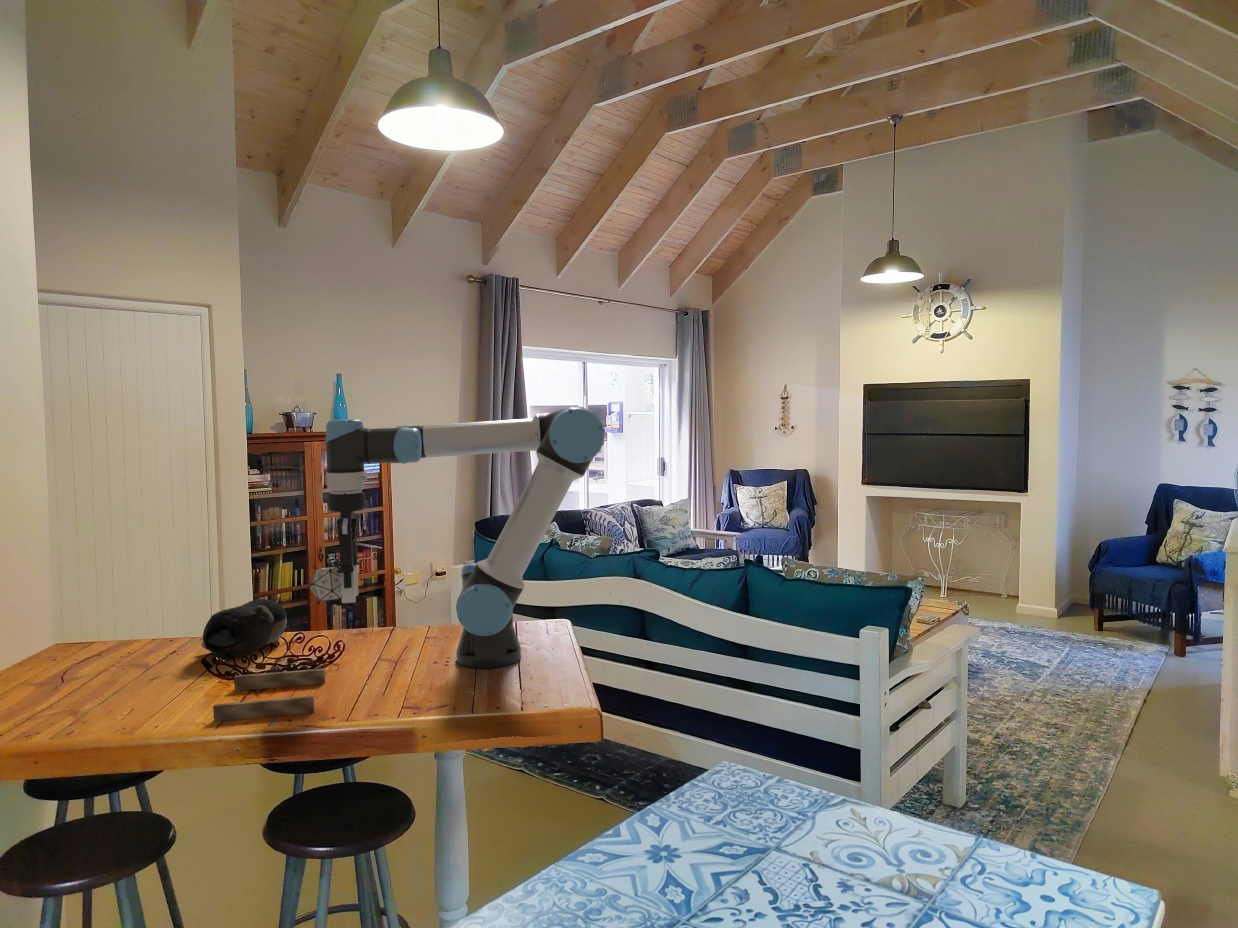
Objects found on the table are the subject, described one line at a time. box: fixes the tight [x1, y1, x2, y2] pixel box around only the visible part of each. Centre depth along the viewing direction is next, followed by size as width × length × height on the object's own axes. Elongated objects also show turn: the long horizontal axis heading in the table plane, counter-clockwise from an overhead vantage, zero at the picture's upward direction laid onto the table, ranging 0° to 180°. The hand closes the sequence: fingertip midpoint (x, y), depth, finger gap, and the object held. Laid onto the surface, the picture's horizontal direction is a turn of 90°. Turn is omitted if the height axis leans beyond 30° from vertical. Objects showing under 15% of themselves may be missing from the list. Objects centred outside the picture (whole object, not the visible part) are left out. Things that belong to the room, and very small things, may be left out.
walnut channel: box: [212, 668, 326, 723], centre depth 162 cm, size 18×18×3 cm
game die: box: [305, 562, 342, 606], centre depth 169 cm, size 9×8×10 cm
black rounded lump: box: [200, 598, 288, 661], centre depth 197 cm, size 20×21×13 cm
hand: (350, 598), depth 171 cm, fingers closed on game die, 6 cm apart
